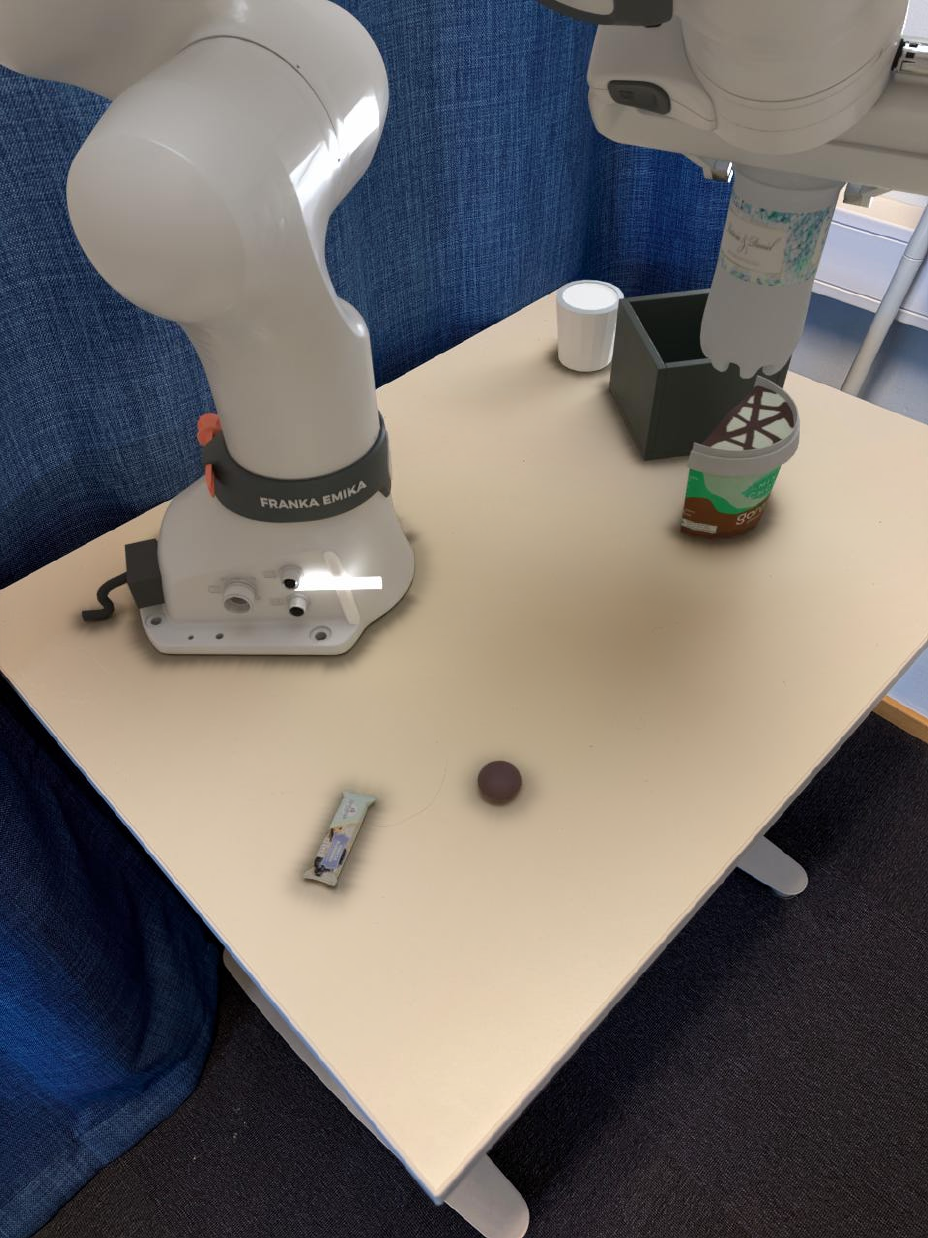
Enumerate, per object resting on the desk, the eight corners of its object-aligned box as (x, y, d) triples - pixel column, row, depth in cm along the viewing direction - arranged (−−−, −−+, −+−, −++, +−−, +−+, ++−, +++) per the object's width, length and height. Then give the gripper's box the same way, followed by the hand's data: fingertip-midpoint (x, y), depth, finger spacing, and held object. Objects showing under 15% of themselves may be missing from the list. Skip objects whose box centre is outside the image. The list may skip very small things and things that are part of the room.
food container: (737, 570, 75) (765, 476, 67) (671, 540, 77) (690, 446, 70) (799, 491, 81) (830, 396, 73) (736, 466, 84) (760, 372, 76)
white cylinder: (539, 359, 96) (542, 298, 91) (577, 332, 99) (581, 271, 94) (593, 382, 93) (598, 320, 88) (629, 353, 96) (637, 292, 91)
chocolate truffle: (476, 805, 61) (476, 793, 59) (478, 767, 63) (478, 754, 61) (521, 806, 60) (522, 794, 59) (521, 768, 62) (522, 755, 61)
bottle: (671, 353, 61) (734, 4, 46) (739, 321, 63) (821, -19, 48) (747, 400, 57) (842, 37, 42) (816, 364, 60) (930, 10, 45)
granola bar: (345, 792, 62) (343, 784, 61) (377, 801, 61) (375, 793, 60) (303, 880, 57) (300, 873, 57) (336, 891, 57) (334, 883, 56)
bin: (643, 460, 84) (658, 368, 77) (608, 387, 92) (618, 298, 85) (767, 444, 86) (793, 353, 78) (722, 373, 94) (741, 284, 86)
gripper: (1087, -15, 35) (1003, 155, 48) (597, -64, 42) (640, 98, 55) (1026, 147, 36) (960, 271, 49) (553, 75, 42) (606, 202, 55)
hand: (788, 179), depth 52 cm, fingers closed on bottle, 6 cm apart
